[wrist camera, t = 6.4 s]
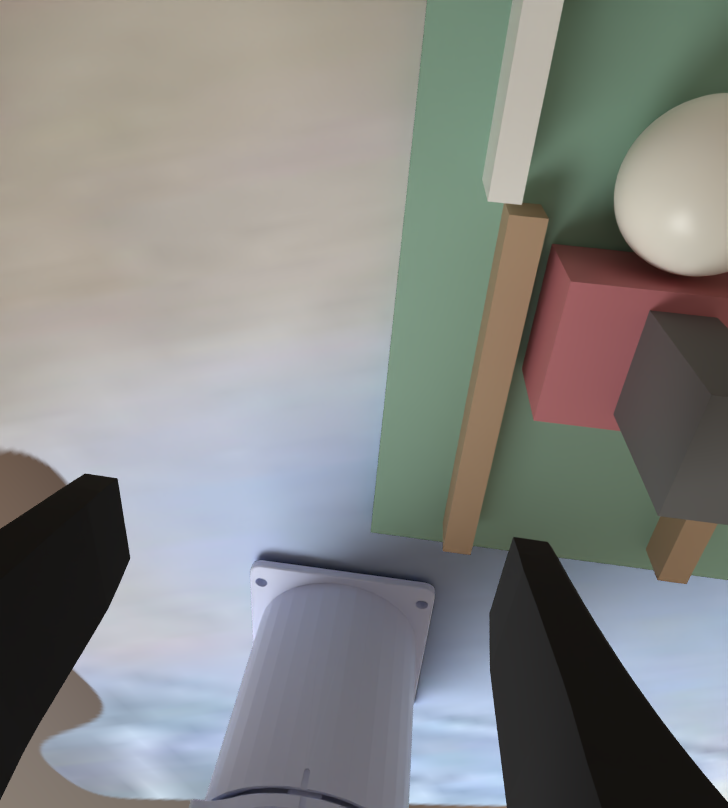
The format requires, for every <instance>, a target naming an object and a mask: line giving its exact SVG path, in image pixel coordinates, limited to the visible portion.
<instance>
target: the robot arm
mask: <svg viewBox="0 0 728 808" xmlns="http://www.w3.org/2000/svg"><path fill="white" fill-rule="evenodd" d="M129 560H130V554H129V548H128V541H127V535H126V529H125V523H124V516H123V510H122V504H121V498H120V491H119V485H118V479H117V478H111V477H105V476H98V475H91V474H84V475H82V476H81V477H79V478H77V479H76V480H74V481H73V482H71V483H69V484H68V485H66V486H65V487H63V488H62V489H60V490H59V491H57V492H56V493H54V494H53V495H51V496H50V497H48V498H47V499H45V500H44V501H42V502H41V503H39V504H38V505H36V506H35V507H33V508H32V509H30V510H29V511H27V512H25V513H24V514H23V515H21V516H19V517H18V518H16V519H15V520H13V521H12V522H10V523H9V524H7V525H6V526H4V527H2V528H1V529H0V799H1V797H2V795H3V793H4V791H5V789H6V787H7V785H8V783H9V781H10V779H11V777H12V775H13V773H14V771H15V768H16V766H17V764H18V762H19V760H20V758H21V756H22V754H23V752H24V750H25V748H26V747H27V745H28V743H29V741H30V739H31V737H32V736H33V734H34V732H35V730H36V728H37V727H38V725H39V723H40V721H41V720H42V718H43V717H44V715H45V713H46V712H47V710H48V708H49V707H50V705H51V703H52V702H53V700H54V698H55V696H56V695H57V693H58V692H59V690H60V688H61V687H62V685H63V683H64V682H65V680H66V679H67V677H68V675H69V674H70V672H71V670H72V669H73V667H74V665H75V664H76V662H77V660H78V659H79V657H80V655H81V654H82V652H83V650H84V649H85V647H86V645H87V644H88V642H89V640H90V639H91V637H92V635H93V634H94V632H95V630H96V629H97V627H98V625H99V623H100V622H101V620H102V618H103V617H104V615H105V613H106V611H107V610H108V608H109V605H110V603H111V601H112V599H113V597H114V595H115V592H116V590H117V588H118V586H119V583H120V581H121V579H122V576H123V574H124V572H125V569H126V567H127V565H128V562H129ZM260 578H262V579H260ZM263 579H265V580H263ZM250 584H251V608H252V633H253V646H252V650H251V653H250V656H249V659H248V662H247V666H246V669H245V672H244V675H243V678H242V682H241V685H240V688H239V691H238V695H237V698H236V701H235V704H234V707H233V711H232V714H231V717H230V720H229V724H228V727H227V730H226V733H225V736H224V740H223V743H222V746H221V749H220V752H219V756H218V759H217V762H216V765H215V769H214V772H213V775H212V778H211V781H210V785H209V788H208V791H207V794H206V798H205V800H198V799H193V800H191V803H190V806H189V808H409V790H410V768H411V746H412V724H413V705H414V700H415V695H416V690H417V685H418V680H419V675H420V670H421V665H422V660H423V655H424V650H425V645H426V640H427V635H428V630H429V625H430V620H431V615H432V610H433V605H434V600H435V589H434V587H433V586H432V585H430V584H428V583H424V582H417V581H410V580H403V579H395V578H388V577H381V576H374V575H366V574H359V573H352V572H345V571H337V570H330V569H323V568H315V567H308V566H301V565H294V564H286V563H279V562H272V561H265V560H258V561H255V562H254V563H253V564H252V567H251V570H250ZM421 601H425V602H421ZM490 673H491V682H492V691H493V699H494V707H495V716H496V724H497V732H498V740H499V747H500V755H501V763H502V771H503V779H504V787H505V795H506V804H507V808H728V802H727V801H726V799H725V798H724V797H723V796H722V795H721V794H720V792H719V791H718V790H717V789H716V788H715V786H714V785H713V784H712V783H711V782H710V781H709V779H708V778H707V777H706V776H705V775H704V773H703V772H702V771H701V770H700V768H699V767H698V766H697V765H696V764H695V762H694V761H693V760H692V759H691V757H690V756H689V755H688V754H687V752H686V751H685V750H684V749H683V747H682V746H681V745H680V744H679V742H678V741H677V740H676V738H675V737H674V736H673V734H672V733H671V732H670V731H669V729H668V728H667V727H666V725H665V724H664V723H663V721H662V720H661V719H660V717H659V716H658V714H657V713H656V712H655V710H654V709H653V708H652V706H651V705H650V703H649V702H648V701H647V699H646V698H645V696H644V695H643V694H642V692H641V691H640V689H639V688H638V687H637V685H636V684H635V682H634V681H633V679H632V678H631V676H630V675H629V674H628V672H627V671H626V669H625V668H624V666H623V665H622V663H621V662H620V660H619V659H618V657H617V656H616V654H615V652H614V651H613V649H612V648H611V646H610V645H609V643H608V641H607V640H606V638H605V637H604V635H603V634H602V632H601V631H600V629H599V627H598V626H597V624H596V623H595V621H594V619H593V618H592V616H591V614H590V613H589V611H588V609H587V608H586V606H585V604H584V603H583V601H582V599H581V598H580V596H579V594H578V593H577V591H576V589H575V587H574V586H573V584H572V582H571V580H570V579H569V577H568V575H567V573H566V572H565V570H564V568H563V566H562V564H561V563H560V561H559V559H558V557H557V555H556V554H555V552H554V550H553V548H552V547H551V545H550V544H549V543H548V542H546V541H539V540H532V539H526V538H519V537H513V539H512V542H511V545H510V548H509V552H508V555H507V558H506V561H505V565H504V568H503V571H502V574H501V578H500V581H499V584H498V587H497V591H496V594H495V597H494V600H493V604H492V607H491V610H490Z"/></svg>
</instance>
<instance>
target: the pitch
mask: <svg viewBox="0 0 728 808" xmlns="http://www.w3.org/2000/svg"><path fill="white" fill-rule="evenodd" d="M511 6H512V0H427V7H426V16H425V26H424V35H423V45H422V54H421V63H420V73H419V82H418V92H417V101H416V110H415V120H414V129H413V139H412V148H411V157H410V167H409V176H408V186H407V195H406V204H405V214H404V223H403V233H402V242H401V251H400V261H399V270H398V279H397V289H396V298H395V308H394V317H393V326H392V336H391V345H390V355H389V364H388V373H387V383H386V392H385V402H384V411H383V420H382V430H381V439H380V449H379V458H378V467H377V477H376V486H375V496H374V505H373V514H372V524H371V532H372V533H380V534H387V535H394V536H402V537H409V538H417V539H424V540H432V541H439V542H443V551H445V552H452V553H460V554H467V555H471V551H472V547H473V546H477V547H484V548H492V549H499V550H507V551H509V548H510V545H511V542H512V539H513V537H519V538H526V539H532V540H539V541H546V542H548V543H549V544H550V545H551V547H552V548H553V550H554V552H555V554H556V555H557V557H559V558H567V559H574V560H582V561H589V562H597V563H604V564H612V565H619V566H627V567H634V568H642V569H649V570H654V572H655V575H656V577H657V580H661V581H668V582H675V583H683V584H687V582H688V580H689V578H690V576H691V575H694V576H701V577H709V578H716V579H724V580H728V525H723V524H715V523H708V522H700V521H692V520H684V519H677V518H669V517H661V516H658V515H657V513H656V510H655V508H654V506H653V504H652V501H651V499H650V497H649V494H648V492H647V490H646V488H645V485H644V483H643V481H642V478H641V476H640V474H639V472H638V469H637V467H636V465H635V463H634V460H633V458H632V456H631V453H630V451H629V449H628V447H627V444H626V442H625V440H624V438H623V435H622V433H621V431H615V430H607V429H598V428H590V427H582V426H574V425H565V424H557V423H549V422H541V421H534V420H533V415H532V411H531V407H530V402H529V398H528V394H527V389H526V385H525V380H524V376H523V372H522V366H523V362H524V357H525V353H526V349H527V345H528V341H529V337H530V333H531V328H532V324H533V320H534V316H535V312H536V308H537V304H538V299H539V295H540V291H541V287H542V283H543V279H544V274H545V270H546V266H547V262H548V258H549V254H550V250H551V245H552V244H559V245H569V246H578V247H588V248H597V249H607V250H617V251H626V252H634V251H633V250H632V249H631V248H630V246H629V245H628V244H627V242H626V241H625V239H624V238H623V236H622V234H621V232H620V230H619V227H618V224H617V221H616V216H615V211H614V189H615V183H616V179H617V175H618V172H619V169H620V166H621V164H622V162H623V160H624V158H625V156H626V154H627V152H628V150H629V149H630V147H631V146H632V144H633V143H634V141H635V140H636V139H637V138H638V137H639V136H640V134H641V133H642V132H643V131H644V130H645V129H646V128H647V127H648V126H649V125H650V124H651V123H652V122H654V121H655V120H656V119H657V118H659V117H660V116H662V115H663V114H664V113H666V112H667V111H669V110H671V109H672V108H674V107H676V106H678V105H680V104H682V103H684V102H687V101H689V100H692V99H695V98H698V97H702V96H706V95H711V94H717V93H728V0H564V3H563V8H562V13H561V17H560V22H559V27H558V32H557V37H556V42H555V46H554V51H553V56H552V61H551V66H550V71H549V75H548V80H547V85H546V90H545V95H544V100H543V104H542V109H541V114H540V119H539V124H538V129H537V133H536V138H535V143H534V148H533V153H532V158H531V162H530V167H529V172H528V177H527V182H526V187H525V191H524V196H523V201H522V205H518V204H508V203H498V202H488V201H487V197H486V193H485V189H484V185H483V181H482V177H483V171H484V165H485V159H486V154H487V148H488V142H489V136H490V130H491V124H492V118H493V112H494V106H495V100H496V94H497V88H498V83H499V77H500V71H501V65H502V59H503V53H504V47H505V41H506V35H507V29H508V23H509V17H510V12H511Z"/></svg>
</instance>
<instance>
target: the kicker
mask: <svg viewBox="0 0 728 808" xmlns="http://www.w3.org/2000/svg"><path fill="white" fill-rule="evenodd" d="M522 372H523V376H524V380H525V385H526V389H527V394H528V398H529V402H530V407H531V411H532V415H533V420H534V421H541V422H549V423H557V424H565V425H574V426H582V427H590V428H598V429H607V430H615V431H621V433H622V435H623V438H624V440H625V442H626V444H627V447H628V449H629V451H630V453H631V456H632V458H633V460H634V463H635V465H636V467H637V469H638V472H639V474H640V476H641V478H642V481H643V483H644V485H645V488H646V490H647V492H648V494H649V497H650V499H651V501H652V504H653V506H654V508H655V510H656V513H657V515H658V516H661V517H669V518H677V519H684V520H692V521H700V522H708V523H715V524H723V525H728V272H726V273H722V274H717V275H712V276H700V277H692V276H682V275H677V274H672V273H669V272H666V271H663V270H660V269H658V268H656V267H654V266H652V265H650V264H648V263H647V262H646V261H644V260H643V259H642V258H640V257H639V256H638V255H637V254H636V253H635V252H626V251H617V250H607V249H597V248H588V247H578V246H569V245H559V244H552V245H551V250H550V254H549V258H548V262H547V266H546V270H545V274H544V279H543V283H542V287H541V291H540V295H539V299H538V304H537V308H536V312H535V316H534V320H533V324H532V328H531V333H530V337H529V341H528V345H527V349H526V353H525V357H524V362H523V366H522Z"/></svg>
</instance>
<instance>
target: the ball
mask: <svg viewBox="0 0 728 808" xmlns="http://www.w3.org/2000/svg"><path fill="white" fill-rule="evenodd" d="M614 211H615V216H616V221H617V224H618V227H619V230H620V232H621V234H622V236H623V238H624V239H625V241H626V242H627V244H628V245H629V246H630V248H631V249H632V250H633V251H634V252H635V253H636V254H637V255H638V256H639V257H640V258H642V259H643V260H644V261H646V262H647V263H648V264H650V265H652V266H654V267H656V268H658V269H660V270H663V271H666V272H669V273H672V274H677V275H682V276H692V277H700V276H712V275H717V274H722V273H726V272H728V93H717V94H711V95H706V96H702V97H698V98H695V99H692V100H689V101H687V102H684V103H682V104H680V105H678V106H676V107H674V108H672V109H671V110H669V111H667V112H666V113H664V114H663V115H662V116H660V117H659V118H657V119H656V120H655V121H654V122H652V123H651V124H650V125H649V126H648V127H647V128H646V129H645V130H644V131H643V132H642V133H641V134H640V136H639V137H638V138H637V139H636V140H635V141H634V143H633V144H632V146H631V147H630V149H629V150H628V152H627V154H626V156H625V158H624V160H623V162H622V164H621V166H620V169H619V172H618V175H617V179H616V183H615V189H614Z"/></svg>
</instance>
